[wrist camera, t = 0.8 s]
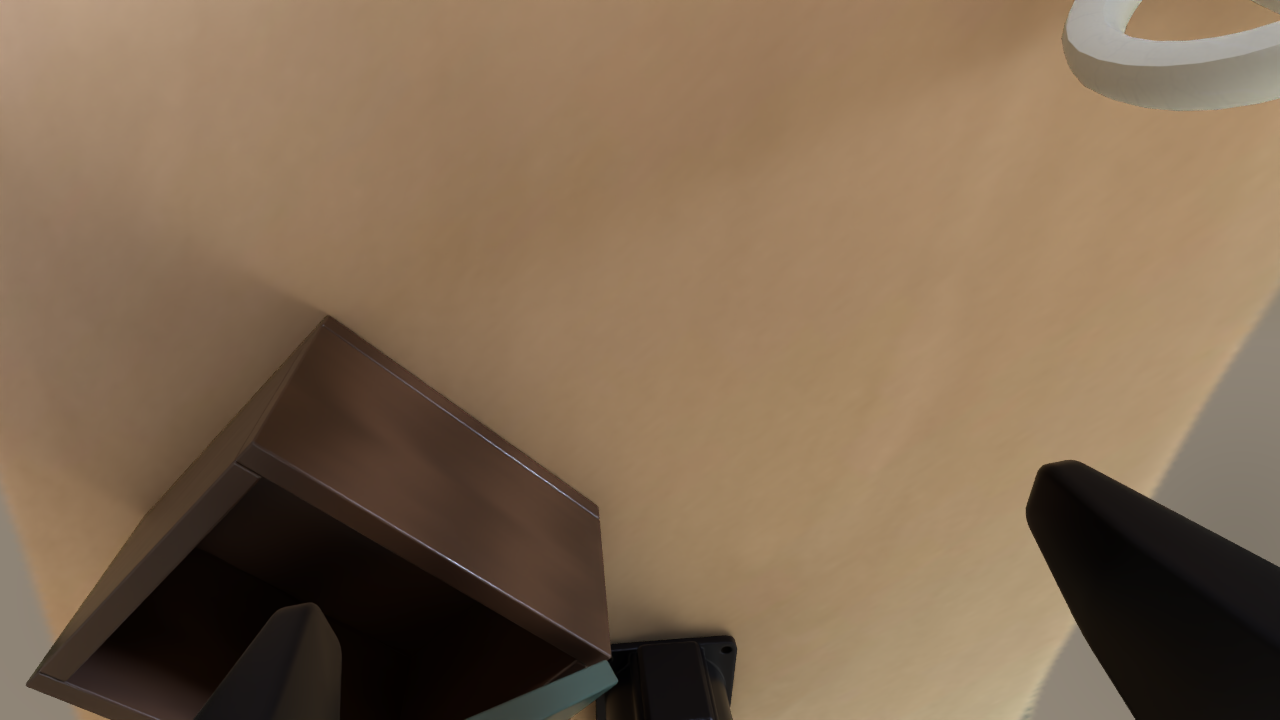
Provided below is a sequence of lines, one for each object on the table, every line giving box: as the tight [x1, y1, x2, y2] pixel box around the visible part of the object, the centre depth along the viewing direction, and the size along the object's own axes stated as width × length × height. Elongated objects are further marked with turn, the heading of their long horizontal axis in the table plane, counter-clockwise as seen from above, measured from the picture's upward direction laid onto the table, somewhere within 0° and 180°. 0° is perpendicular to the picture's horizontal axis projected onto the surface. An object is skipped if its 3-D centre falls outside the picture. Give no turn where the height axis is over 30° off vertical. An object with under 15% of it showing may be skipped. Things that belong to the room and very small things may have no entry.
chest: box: [26, 316, 611, 720], centre depth 26 cm, size 13×12×7 cm
